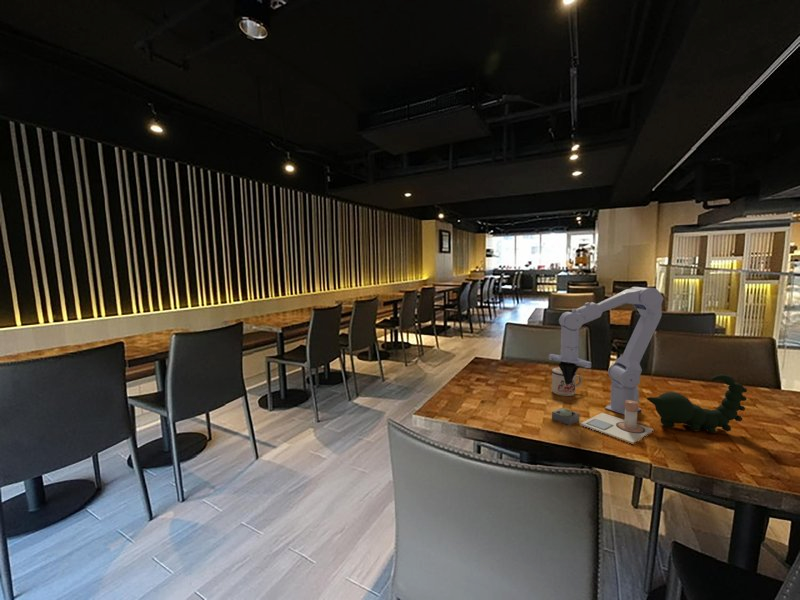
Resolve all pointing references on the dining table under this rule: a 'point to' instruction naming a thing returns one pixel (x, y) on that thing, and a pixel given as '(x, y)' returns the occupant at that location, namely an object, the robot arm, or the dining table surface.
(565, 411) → the button
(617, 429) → the picture board
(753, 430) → the dining table surface
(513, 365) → the dining table surface
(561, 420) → the button housing
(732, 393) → the toy figurine
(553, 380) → the teacup with lid
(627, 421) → the small capped bottle
